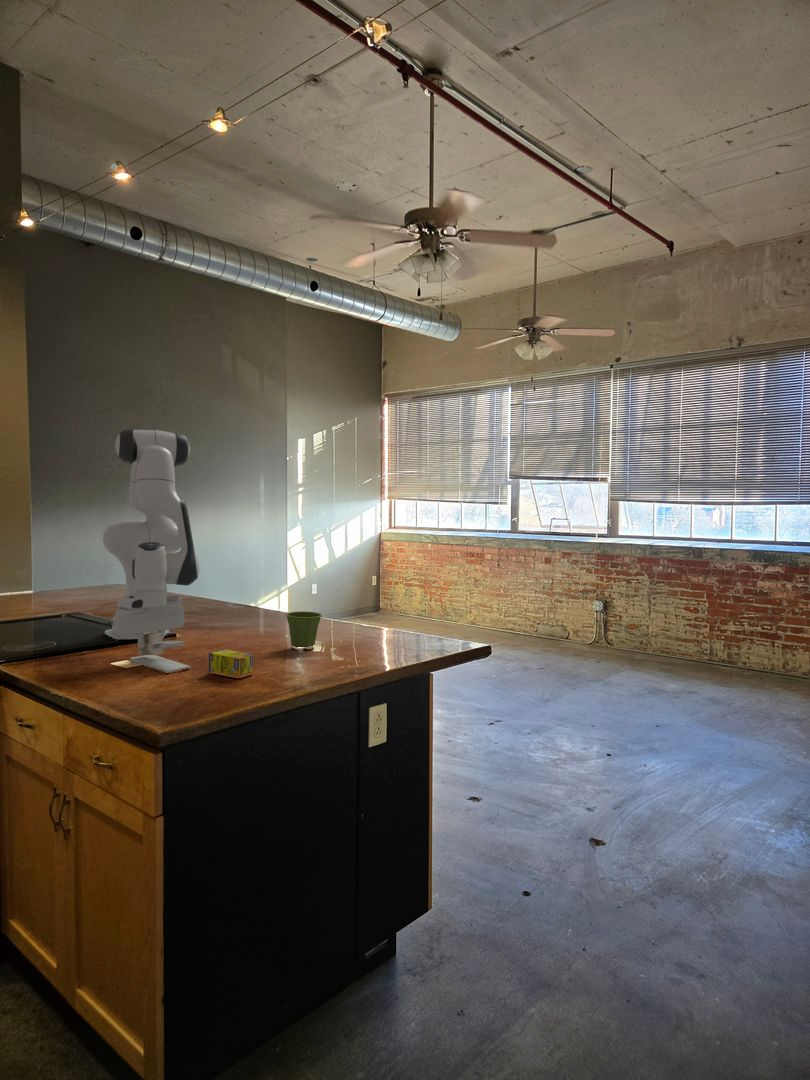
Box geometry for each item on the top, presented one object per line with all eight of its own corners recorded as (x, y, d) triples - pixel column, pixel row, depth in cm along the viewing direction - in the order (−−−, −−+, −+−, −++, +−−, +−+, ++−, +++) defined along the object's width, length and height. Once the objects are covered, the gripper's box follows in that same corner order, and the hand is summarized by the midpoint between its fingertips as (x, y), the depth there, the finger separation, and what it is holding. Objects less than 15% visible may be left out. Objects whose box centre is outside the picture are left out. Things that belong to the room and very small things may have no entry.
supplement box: (208, 652, 188) (238, 658, 183) (223, 648, 193) (253, 653, 188) (207, 674, 188) (238, 680, 183) (223, 669, 194) (253, 675, 188)
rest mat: (129, 661, 200) (129, 657, 200) (152, 657, 205) (152, 654, 205) (167, 674, 187) (167, 670, 187) (190, 669, 193) (190, 666, 192)
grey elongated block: (135, 655, 200) (134, 634, 200) (151, 652, 204) (149, 632, 204) (168, 656, 189) (167, 635, 189) (184, 654, 193) (183, 632, 193)
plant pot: (318, 653, 217) (319, 617, 217) (281, 652, 218) (282, 616, 217) (324, 645, 229) (324, 611, 228) (288, 644, 229) (289, 610, 229)
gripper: (176, 594, 208) (176, 639, 209) (111, 601, 193) (111, 650, 194) (188, 597, 204) (188, 643, 205) (122, 604, 189) (122, 653, 190)
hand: (150, 646), depth 199 cm, fingers closed on grey elongated block, 3 cm apart
